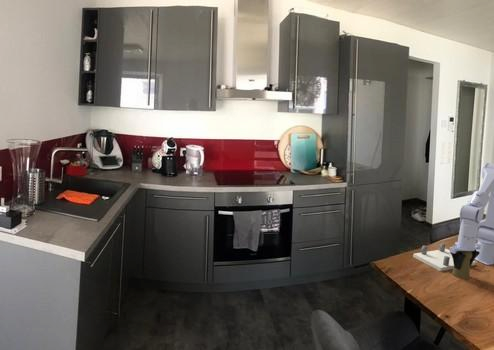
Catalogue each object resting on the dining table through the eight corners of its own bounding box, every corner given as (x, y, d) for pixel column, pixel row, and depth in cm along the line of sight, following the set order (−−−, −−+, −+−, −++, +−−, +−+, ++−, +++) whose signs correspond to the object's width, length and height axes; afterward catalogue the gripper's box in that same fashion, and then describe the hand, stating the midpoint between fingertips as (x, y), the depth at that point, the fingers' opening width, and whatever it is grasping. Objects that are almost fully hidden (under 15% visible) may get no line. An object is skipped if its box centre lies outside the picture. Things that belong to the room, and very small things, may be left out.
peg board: (445, 251, 155) (447, 241, 154) (474, 265, 142) (476, 254, 141) (413, 256, 148) (414, 246, 147) (440, 271, 135) (442, 259, 134)
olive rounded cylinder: (472, 280, 129) (477, 253, 127) (455, 278, 130) (459, 252, 128) (465, 272, 135) (470, 247, 132) (449, 270, 136) (453, 245, 134)
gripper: (470, 230, 135) (465, 260, 138) (444, 233, 130) (439, 265, 133) (488, 236, 129) (482, 268, 131) (461, 240, 124) (455, 273, 126)
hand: (461, 267), depth 132 cm, fingers closed on olive rounded cylinder, 5 cm apart
